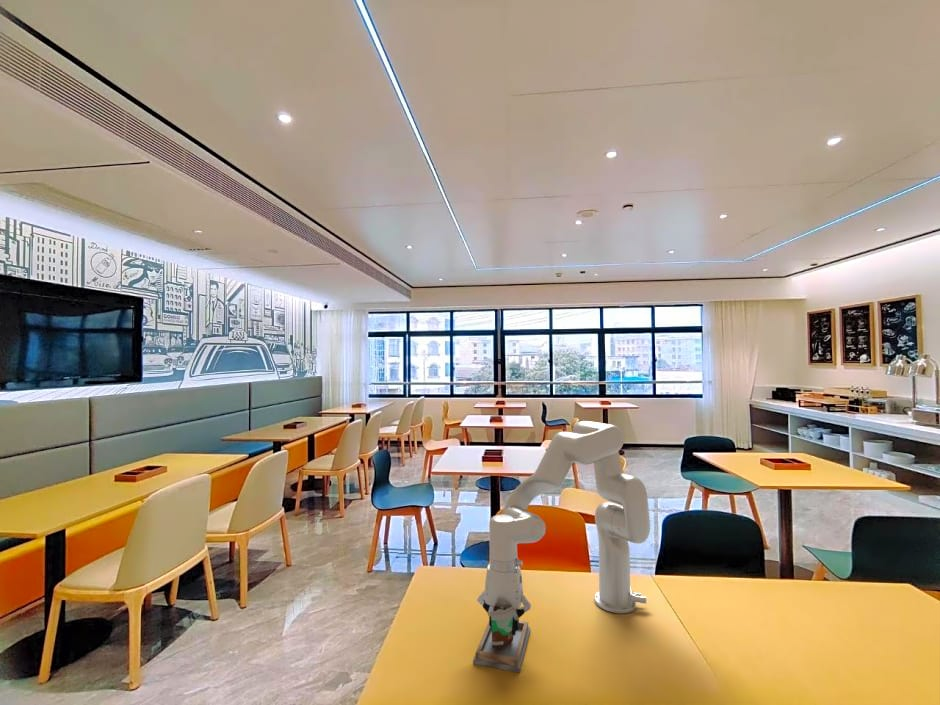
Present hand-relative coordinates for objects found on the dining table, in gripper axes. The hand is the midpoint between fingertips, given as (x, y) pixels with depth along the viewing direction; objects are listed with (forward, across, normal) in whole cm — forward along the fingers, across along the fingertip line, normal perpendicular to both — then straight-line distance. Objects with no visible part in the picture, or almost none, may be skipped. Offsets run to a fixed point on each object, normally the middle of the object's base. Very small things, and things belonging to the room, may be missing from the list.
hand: (504, 629), depth 117 cm
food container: (+2, -1, 0) cm, 2 cm away
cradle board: (+4, 0, 0) cm, 4 cm away
